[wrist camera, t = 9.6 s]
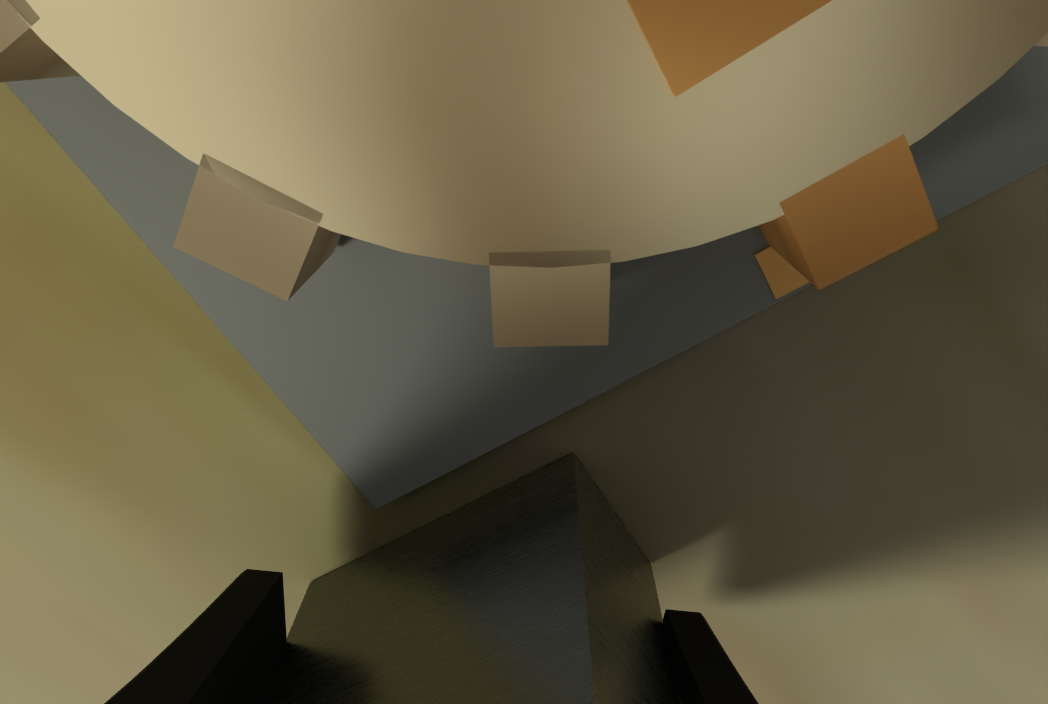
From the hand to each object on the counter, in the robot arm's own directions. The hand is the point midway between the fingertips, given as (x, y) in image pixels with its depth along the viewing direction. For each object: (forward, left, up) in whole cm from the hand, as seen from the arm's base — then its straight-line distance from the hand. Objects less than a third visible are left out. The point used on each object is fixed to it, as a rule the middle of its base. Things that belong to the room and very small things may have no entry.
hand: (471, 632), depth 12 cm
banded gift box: (0, 0, -1) cm, 1 cm away
